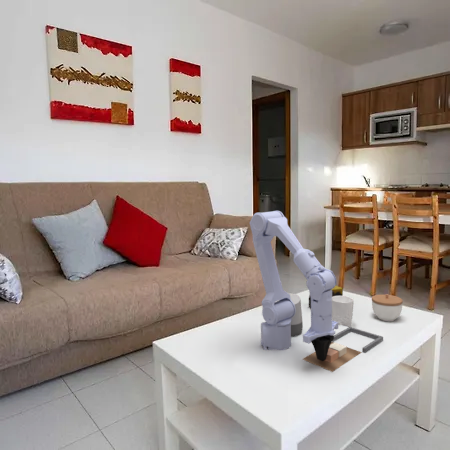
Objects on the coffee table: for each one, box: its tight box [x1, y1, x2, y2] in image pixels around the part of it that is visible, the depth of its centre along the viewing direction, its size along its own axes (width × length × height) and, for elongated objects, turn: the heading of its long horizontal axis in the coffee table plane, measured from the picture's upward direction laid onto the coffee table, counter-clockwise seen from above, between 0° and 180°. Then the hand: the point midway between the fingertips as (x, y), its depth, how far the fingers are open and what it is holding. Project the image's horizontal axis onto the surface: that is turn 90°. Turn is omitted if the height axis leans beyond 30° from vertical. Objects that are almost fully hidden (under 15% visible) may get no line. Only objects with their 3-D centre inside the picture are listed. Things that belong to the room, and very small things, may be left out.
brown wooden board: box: [302, 341, 363, 373], centre depth 106 cm, size 16×10×2 cm, turn 131°
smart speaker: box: [278, 292, 304, 338], centre depth 124 cm, size 10×9×14 cm
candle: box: [308, 284, 344, 309], centre depth 149 cm, size 10×10×10 cm
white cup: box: [332, 295, 354, 328], centre depth 132 cm, size 8×8×10 cm
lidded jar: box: [371, 293, 404, 322], centre depth 137 cm, size 11×11×9 cm
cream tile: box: [329, 341, 347, 357], centre depth 108 cm, size 4×4×2 cm
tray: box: [331, 326, 384, 354], centre depth 116 cm, size 12×12×3 cm
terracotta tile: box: [325, 348, 339, 363], centre depth 105 cm, size 4×4×2 cm
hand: (321, 359), depth 103 cm, fingers closed
